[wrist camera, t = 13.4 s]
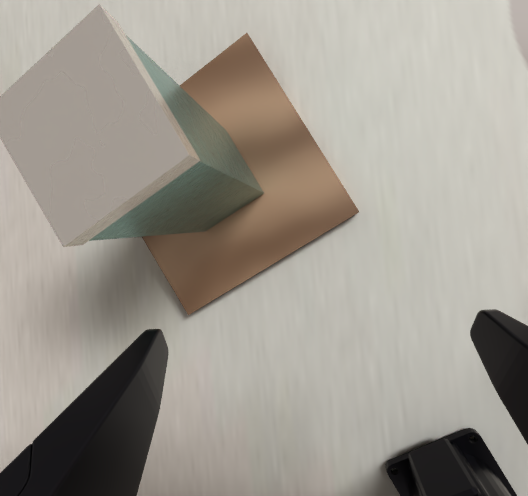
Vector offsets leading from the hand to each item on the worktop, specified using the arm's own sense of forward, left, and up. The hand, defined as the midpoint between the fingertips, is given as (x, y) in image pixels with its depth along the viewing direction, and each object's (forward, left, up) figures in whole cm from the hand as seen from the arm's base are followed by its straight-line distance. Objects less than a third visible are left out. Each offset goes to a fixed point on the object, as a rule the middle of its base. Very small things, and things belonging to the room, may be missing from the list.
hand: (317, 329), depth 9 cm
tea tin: (+9, +3, -12) cm, 15 cm away
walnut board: (+9, +3, -13) cm, 16 cm away
